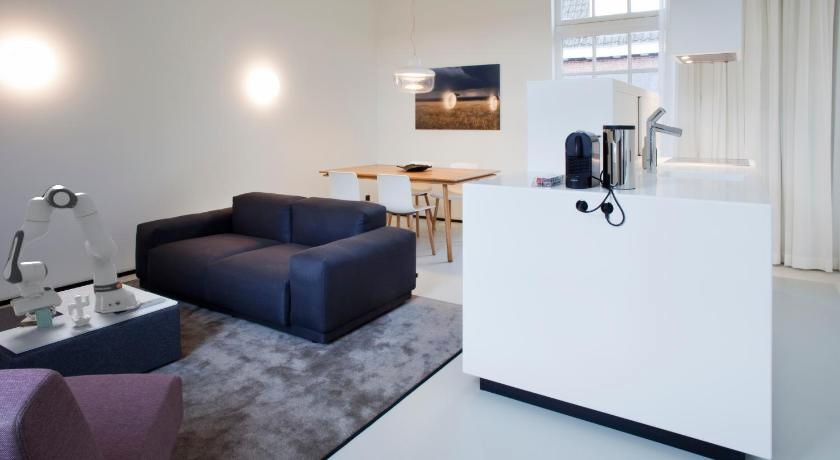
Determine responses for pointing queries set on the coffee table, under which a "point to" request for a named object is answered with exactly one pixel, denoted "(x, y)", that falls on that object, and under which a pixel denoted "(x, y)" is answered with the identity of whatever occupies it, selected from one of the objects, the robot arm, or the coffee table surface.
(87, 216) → the robot arm
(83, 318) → the figurine
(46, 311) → the teal block
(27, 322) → the beige square slab
